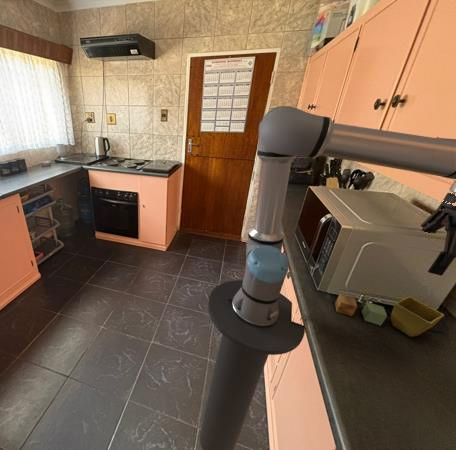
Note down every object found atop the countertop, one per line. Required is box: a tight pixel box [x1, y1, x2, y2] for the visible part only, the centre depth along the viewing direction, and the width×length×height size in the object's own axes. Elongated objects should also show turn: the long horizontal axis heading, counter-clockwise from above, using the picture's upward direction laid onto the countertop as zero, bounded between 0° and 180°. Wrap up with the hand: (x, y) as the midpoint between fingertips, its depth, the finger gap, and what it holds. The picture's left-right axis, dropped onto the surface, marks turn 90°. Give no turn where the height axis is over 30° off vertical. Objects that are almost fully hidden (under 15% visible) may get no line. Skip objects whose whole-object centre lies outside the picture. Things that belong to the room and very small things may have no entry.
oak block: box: [334, 293, 358, 317], centre depth 86 cm, size 4×4×4 cm
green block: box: [361, 301, 388, 326], centre depth 83 cm, size 4×4×4 cm
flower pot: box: [390, 296, 445, 338], centre depth 78 cm, size 9×9×9 cm
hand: (425, 261), depth 75 cm, fingers open, 13 cm apart
